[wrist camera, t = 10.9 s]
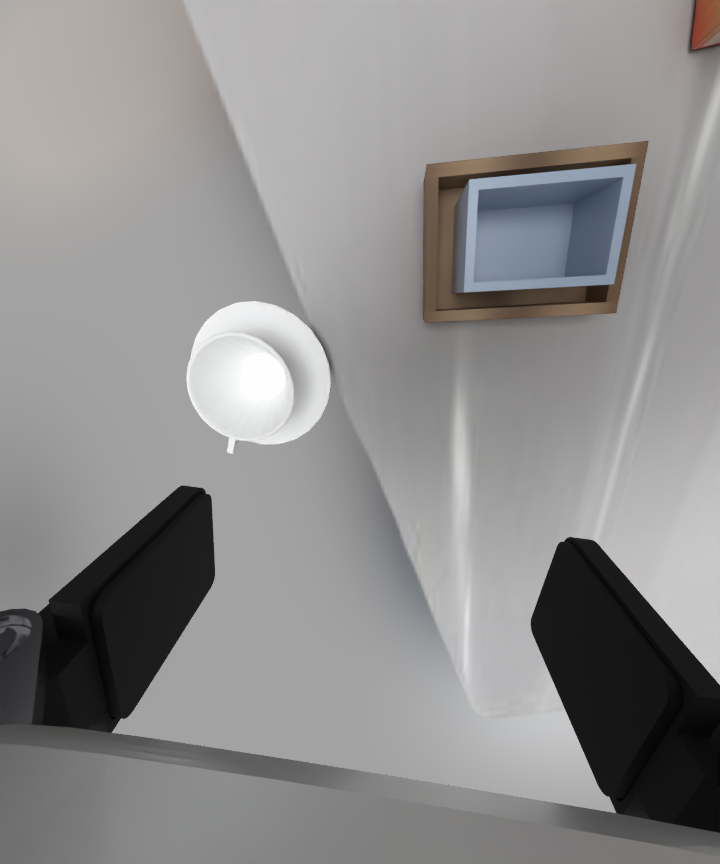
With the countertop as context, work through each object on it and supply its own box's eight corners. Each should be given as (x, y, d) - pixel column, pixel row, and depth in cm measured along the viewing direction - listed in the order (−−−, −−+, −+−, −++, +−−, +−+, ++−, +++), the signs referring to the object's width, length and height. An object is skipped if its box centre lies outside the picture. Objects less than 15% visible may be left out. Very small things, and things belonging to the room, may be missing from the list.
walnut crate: (613, 162, 23) (648, 140, 20) (589, 310, 26) (615, 313, 23) (423, 181, 24) (426, 164, 21) (422, 319, 27) (425, 322, 24)
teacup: (202, 428, 33) (167, 451, 28) (195, 291, 29) (153, 290, 24) (327, 448, 33) (313, 475, 28) (340, 311, 28) (327, 314, 23)
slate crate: (580, 195, 23) (636, 163, 18) (567, 286, 25) (614, 284, 19) (454, 206, 24) (469, 179, 19) (451, 293, 26) (464, 292, 20)
